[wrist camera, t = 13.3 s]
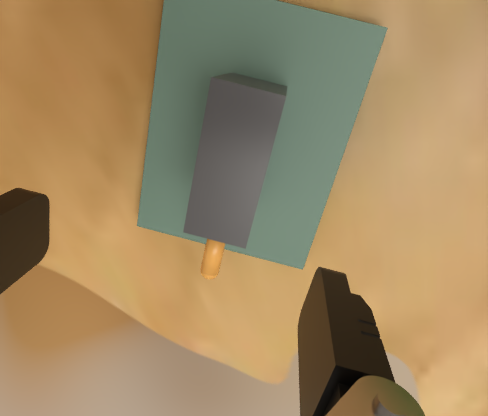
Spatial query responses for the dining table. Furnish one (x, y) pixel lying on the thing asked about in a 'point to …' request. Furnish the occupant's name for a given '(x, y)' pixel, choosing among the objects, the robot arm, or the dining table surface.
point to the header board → (292, 119)
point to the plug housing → (232, 162)
